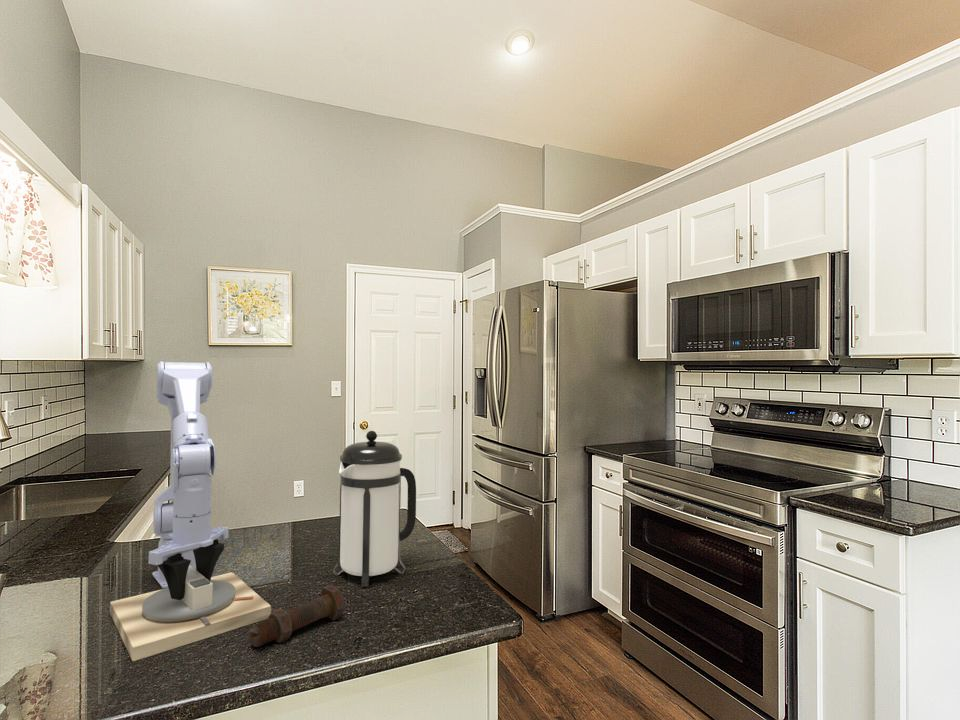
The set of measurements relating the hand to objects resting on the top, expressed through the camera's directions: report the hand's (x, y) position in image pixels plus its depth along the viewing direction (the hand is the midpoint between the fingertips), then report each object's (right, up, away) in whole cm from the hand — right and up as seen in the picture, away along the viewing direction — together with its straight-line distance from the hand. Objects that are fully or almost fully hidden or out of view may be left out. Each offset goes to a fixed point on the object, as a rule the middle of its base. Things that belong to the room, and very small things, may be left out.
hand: (190, 592), depth 89 cm
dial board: (0, -4, 0) cm, 4 cm away
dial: (0, -2, 0) cm, 2 cm away
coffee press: (+27, -5, +20) cm, 34 cm away
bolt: (+20, -5, -5) cm, 21 cm away
